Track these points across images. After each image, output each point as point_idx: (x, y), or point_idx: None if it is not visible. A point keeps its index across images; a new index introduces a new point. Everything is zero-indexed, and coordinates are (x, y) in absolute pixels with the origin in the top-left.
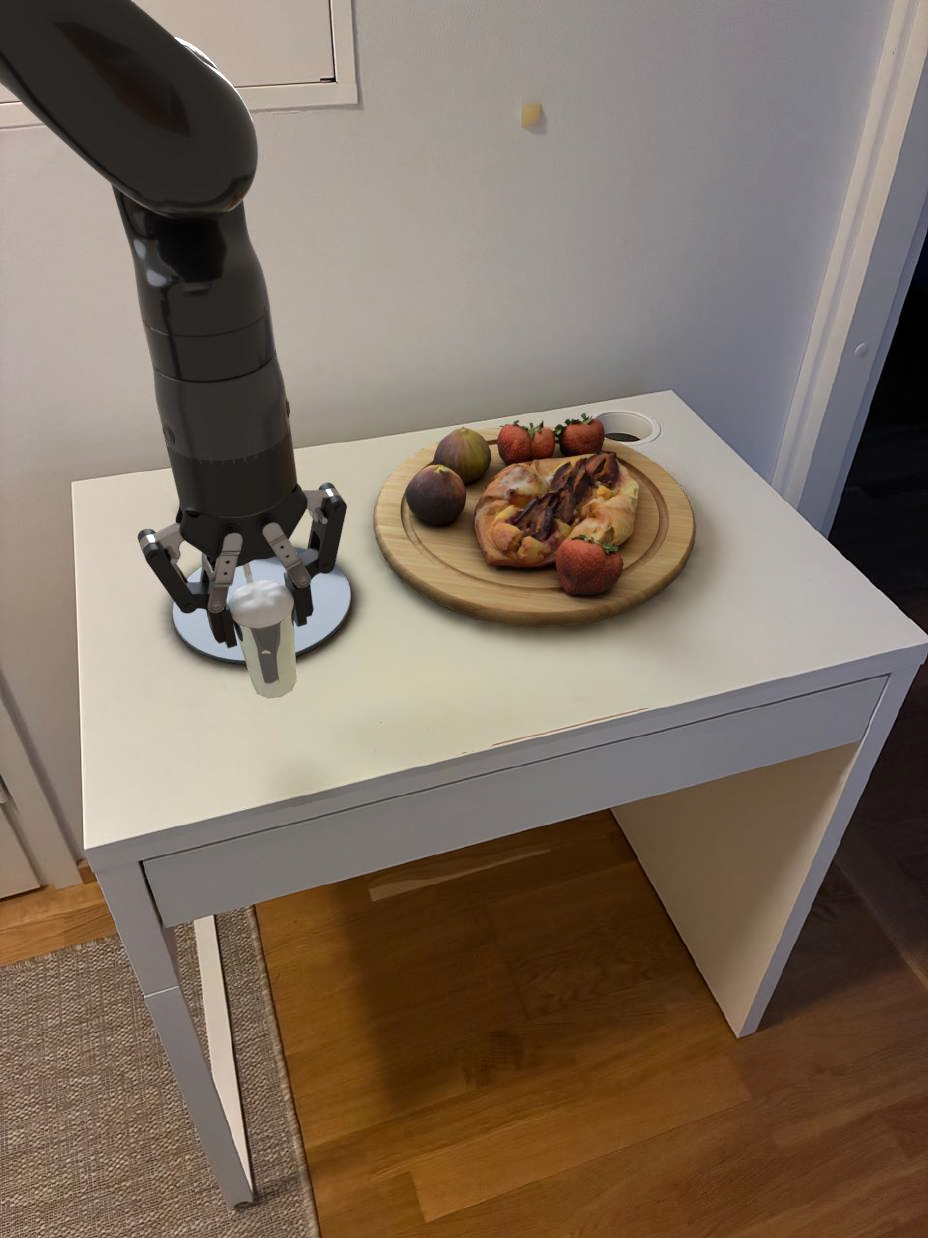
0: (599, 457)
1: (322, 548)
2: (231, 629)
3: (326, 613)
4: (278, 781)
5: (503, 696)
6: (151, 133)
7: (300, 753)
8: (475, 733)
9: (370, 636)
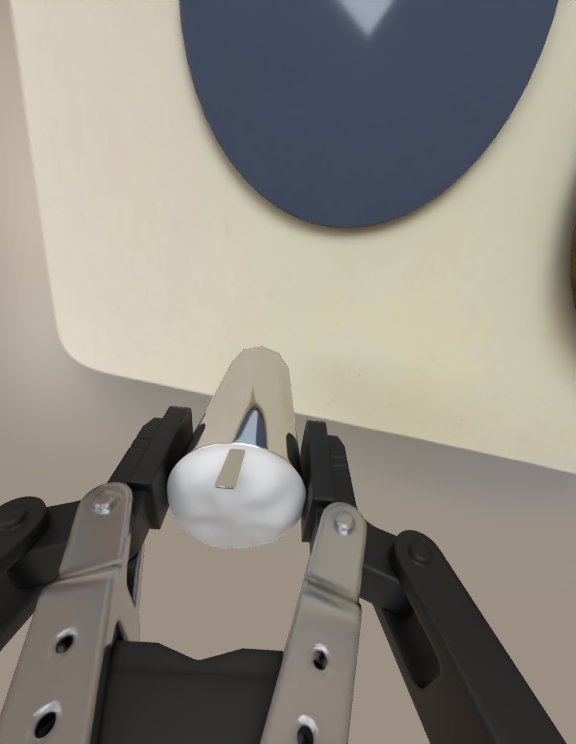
0: None
1: (403, 678)
2: None
3: (431, 159)
4: None
5: (477, 406)
6: None
7: None
8: (419, 425)
9: (446, 244)
